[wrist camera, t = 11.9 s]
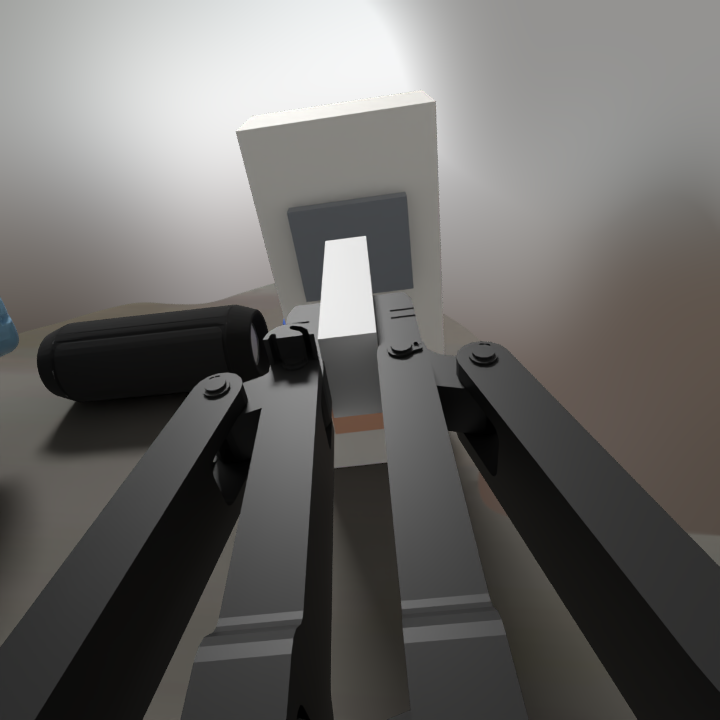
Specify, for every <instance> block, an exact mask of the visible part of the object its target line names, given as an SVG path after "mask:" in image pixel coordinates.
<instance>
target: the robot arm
mask: <svg viewBox="0 0 720 720" xmlns="http://www.w3.org/2000/svg"><path fill="white" fill-rule="evenodd" d="M263 341H264V345H265V348H266V352H267V355H268V359H269V362H270V370H269V373H267V374H265V375H264V376H261V377H259V378H256V379H253V380H250V381H247V382H244V383H242V380H241V377H239V376H238V375H236V374H233V373H218V374H215V375H212V376H209V377H207V378H205V379H204V380H202V381H200V382H199V383H198V384H197V385H196V386H195V387H194V388H193V390H192V391H191V392H190V394H189V395H188V396H187V398H186V399H185V400H184V402H183V403H182V404H181V406H180V407H179V408H178V410H177V411H176V412H175V414H174V415H173V416H172V418H171V419H170V420H169V422H168V423H167V424H166V426H165V427H164V428H163V430H162V431H161V432H160V434H159V435H158V437H157V438H156V439H155V441H154V442H153V443H152V445H151V446H150V447H149V449H148V450H147V451H146V453H145V454H144V455H143V457H142V458H141V459H140V461H139V462H138V463H137V465H136V466H135V467H134V469H133V470H132V471H131V473H130V474H129V475H128V477H127V478H126V479H125V481H124V482H123V483H122V485H121V486H120V487H119V489H118V490H117V492H116V493H115V494H114V496H113V497H112V498H111V500H110V501H109V502H108V504H107V505H106V506H105V508H104V509H103V510H102V512H101V513H100V514H99V516H98V517H97V518H96V520H95V521H94V522H93V524H92V525H91V526H90V528H89V529H88V530H87V532H86V533H85V534H84V536H83V537H82V538H81V540H80V541H79V542H78V544H77V545H76V547H75V548H74V549H73V551H72V552H71V553H70V555H69V556H68V557H67V559H66V560H65V561H64V563H63V564H62V565H61V567H60V568H59V569H58V571H57V572H56V573H55V575H54V576H53V577H52V579H51V580H50V581H49V583H48V584H47V585H46V587H45V588H44V589H43V591H42V592H41V593H40V595H39V596H38V598H37V599H36V600H35V602H34V603H33V604H32V606H31V607H30V608H29V610H28V611H27V612H26V614H25V615H24V616H23V618H22V619H21V620H20V622H19V623H18V624H17V626H16V627H15V628H14V630H13V631H12V632H11V634H10V635H9V636H8V638H7V639H6V640H5V642H4V643H3V644H2V646H1V647H0V720H143V717H144V715H145V713H146V711H147V709H148V707H149V705H150V703H151V701H152V698H153V696H154V694H155V692H156V690H157V688H158V686H159V684H160V682H161V679H162V677H163V675H164V673H165V671H166V669H167V667H168V665H169V663H170V660H171V658H172V656H173V654H174V652H175V650H176V648H177V646H178V644H179V641H180V639H181V637H182V635H183V633H184V631H185V629H186V627H187V625H188V622H189V620H190V618H191V616H192V614H193V612H194V610H195V608H196V606H197V603H198V601H199V599H200V597H201V595H202V593H203V591H204V589H205V587H206V584H207V582H208V580H209V578H210V576H211V574H212V572H213V570H214V568H215V565H216V563H217V561H218V559H219V557H220V555H221V553H222V551H223V549H224V546H225V544H226V542H227V540H228V538H229V536H230V534H231V532H232V530H233V527H234V525H235V523H236V521H237V519H238V517H239V515H240V517H239V522H238V527H237V532H236V537H235V542H234V547H233V552H232V557H231V562H230V566H229V571H228V576H227V581H226V586H225V591H224V596H223V601H222V606H221V611H220V615H219V620H218V623H217V627H216V629H215V630H214V632H213V633H211V634H209V635H208V636H206V637H204V638H203V640H202V642H201V644H200V645H199V647H198V650H197V653H196V657H195V660H194V663H193V667H192V672H191V676H190V681H189V685H188V689H187V694H186V698H185V702H184V707H183V711H182V715H181V720H334V718H333V709H332V701H331V620H332V557H333V493H334V426H333V422H332V410H333V415H334V418H339V417H348V416H357V415H366V414H375V413H383V422H384V432H385V443H386V453H387V463H388V473H389V484H390V494H391V504H392V514H393V525H394V535H395V545H396V555H397V566H398V576H399V586H400V597H401V607H402V624H403V636H404V647H405V657H406V668H407V678H408V688H409V699H410V709H411V710H409V711H407V712H404V713H402V714H399V715H397V716H395V717H392V718H390V719H387V720H529V719H528V715H527V712H526V708H525V704H524V700H523V696H522V693H521V689H520V685H519V681H518V678H517V674H516V670H515V666H514V662H513V659H512V655H511V651H510V647H509V643H508V640H507V636H506V632H505V629H504V626H503V622H502V619H501V617H500V614H499V612H498V610H497V609H495V608H494V607H493V605H492V603H491V600H490V596H489V593H488V589H487V585H486V581H485V577H484V573H483V569H482V565H481V561H480V557H479V553H478V549H477V545H476V541H475V537H474V533H473V529H472V525H471V521H470V517H469V513H468V509H467V505H466V501H465V497H464V493H463V489H462V485H461V481H460V477H459V473H458V469H457V465H456V461H455V457H454V454H453V450H452V446H451V442H450V438H449V434H448V431H455V432H457V435H458V438H459V440H460V441H461V443H462V445H463V446H464V448H465V449H466V451H467V452H468V454H469V456H470V457H471V459H472V460H473V462H474V463H475V465H476V467H477V468H478V470H479V471H480V473H481V474H482V476H483V477H484V479H485V481H486V482H487V483H488V485H489V487H490V488H491V490H492V492H493V493H494V495H495V496H496V498H497V499H498V501H499V502H500V504H501V506H502V507H503V509H504V510H505V512H506V514H507V515H508V517H509V518H510V520H511V521H512V523H513V525H514V526H515V528H516V529H517V531H518V532H519V534H520V536H521V537H522V539H523V540H524V542H525V543H526V545H527V547H528V548H529V550H530V551H531V553H532V554H533V556H534V558H535V559H536V561H537V562H538V564H539V565H540V567H541V569H542V570H543V572H544V573H545V575H546V576H547V578H548V580H549V581H550V583H551V584H552V586H553V587H554V589H555V590H556V592H557V594H558V595H559V597H560V598H561V600H562V601H563V603H564V605H565V606H566V608H567V609H568V611H569V612H570V614H571V616H572V617H573V619H574V620H575V622H576V623H577V625H578V627H579V628H580V630H581V631H582V633H583V634H584V636H585V638H586V639H587V641H588V642H589V644H590V645H591V647H592V649H593V650H594V652H595V653H596V655H597V656H598V658H599V660H600V661H601V663H602V664H603V666H604V667H605V669H606V671H607V672H608V674H609V675H610V677H611V678H612V680H613V682H614V683H615V685H616V686H617V688H618V689H619V691H620V693H621V694H622V696H623V697H624V699H625V700H626V702H627V703H628V705H629V707H630V708H631V710H632V711H633V713H634V714H635V716H636V718H637V719H638V720H720V567H719V566H718V565H717V564H716V563H715V562H714V561H713V560H712V559H711V557H710V556H709V555H708V554H707V553H706V552H705V551H704V550H703V549H702V548H701V547H700V546H699V545H698V544H697V543H696V542H695V541H694V540H693V539H692V538H691V537H690V536H689V535H688V534H687V533H686V532H685V531H684V530H683V529H682V528H681V527H680V526H679V525H678V524H677V523H676V522H675V521H674V520H673V519H672V518H671V517H670V516H669V515H668V514H667V512H666V511H664V509H663V508H662V507H660V505H659V504H658V503H657V502H656V501H655V500H654V499H653V498H652V497H651V496H650V495H649V494H648V493H647V492H646V491H645V490H644V489H643V488H642V487H641V486H640V485H639V484H638V483H637V482H636V481H635V480H634V479H633V478H632V477H631V476H630V475H629V474H628V473H627V472H626V471H625V470H624V469H623V467H622V466H621V465H620V464H618V462H616V460H615V459H614V458H613V457H612V456H611V455H610V454H609V453H608V452H607V451H606V450H605V449H604V448H603V447H602V446H601V445H600V444H599V443H598V442H597V441H596V440H595V439H594V438H593V437H592V436H591V435H590V434H589V433H588V432H587V431H586V430H585V429H584V428H583V427H582V426H581V425H580V423H578V421H577V420H576V419H575V418H574V417H573V416H572V415H571V414H570V413H569V412H568V411H567V410H566V409H565V408H564V407H563V406H562V405H561V404H560V403H559V402H558V401H557V400H556V399H555V398H554V397H553V396H552V395H551V394H550V393H549V392H548V391H547V390H546V389H545V388H544V387H543V386H542V385H541V384H540V383H539V382H538V381H537V379H535V377H534V376H533V375H531V373H530V372H529V371H528V370H527V369H526V368H525V367H524V366H523V365H522V364H521V363H520V362H519V361H518V360H517V359H516V358H515V357H514V356H513V355H512V354H511V353H510V352H509V351H508V350H507V349H506V348H504V347H503V346H501V345H499V344H495V343H492V342H483V341H480V342H473V343H470V344H467V345H465V346H463V347H462V348H461V349H460V350H459V351H458V352H457V356H451V355H443V354H438V353H435V352H433V351H431V350H429V349H427V347H426V345H425V343H424V342H423V341H422V339H421V335H420V331H419V327H418V323H417V319H416V315H415V311H414V307H413V303H412V299H411V298H410V297H409V296H408V295H407V294H405V293H404V292H396V293H388V294H380V295H373V291H372V283H371V275H370V266H369V258H368V249H367V241H366V236H361V237H353V238H345V239H338V240H330V241H325V252H324V264H323V277H322V290H321V303H316V304H308V305H300V306H295V307H294V308H293V309H292V311H291V312H290V313H289V314H288V316H287V322H286V325H281V326H279V327H277V328H275V329H272V330H271V331H270V332H269V333H267V334H266V336H265V337H264V339H263ZM18 343H19V337H18V333H17V330H16V328H15V326H14V324H13V322H12V320H11V318H10V316H9V315H8V313H7V310H6V308H5V305H4V303H3V301H2V299H1V298H0V357H1V356H3V355H5V354H8V353H10V352H12V351H13V350H14V349H15V348H16V347H17V345H18Z"/></svg>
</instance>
